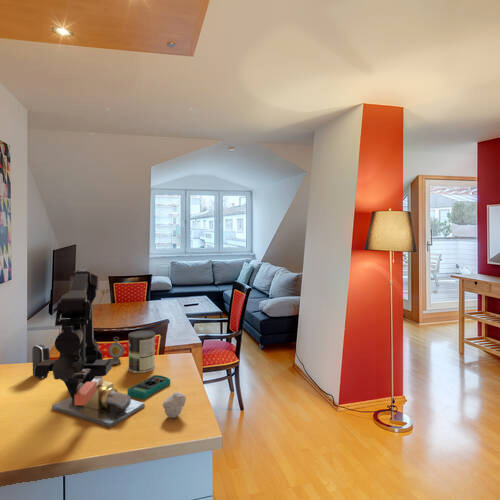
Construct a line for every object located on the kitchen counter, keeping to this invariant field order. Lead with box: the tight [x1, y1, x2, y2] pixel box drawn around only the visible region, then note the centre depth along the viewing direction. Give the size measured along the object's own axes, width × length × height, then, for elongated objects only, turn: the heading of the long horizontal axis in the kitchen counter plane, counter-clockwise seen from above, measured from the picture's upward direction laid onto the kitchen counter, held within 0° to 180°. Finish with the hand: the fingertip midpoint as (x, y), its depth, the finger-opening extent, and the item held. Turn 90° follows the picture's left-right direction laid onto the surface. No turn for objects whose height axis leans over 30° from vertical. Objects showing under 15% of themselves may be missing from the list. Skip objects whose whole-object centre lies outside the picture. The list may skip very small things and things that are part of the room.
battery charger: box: [31, 344, 51, 379], centre depth 140 cm, size 7×4×11 cm, turn 52°
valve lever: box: [74, 376, 104, 405], centre depth 108 cm, size 16×3×3 cm, turn 4°
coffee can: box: [128, 329, 156, 374], centre depth 149 cm, size 10×10×14 cm
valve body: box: [51, 379, 146, 428], centre depth 115 cm, size 24×14×8 cm, turn 65°
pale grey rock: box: [162, 391, 187, 419], centre depth 110 cm, size 6×7×7 cm
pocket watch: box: [105, 336, 125, 366], centre depth 155 cm, size 8×8×10 cm
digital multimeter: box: [126, 374, 171, 400], centre depth 129 cm, size 7×15×3 cm, turn 155°
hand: (73, 398), depth 103 cm, fingers closed
